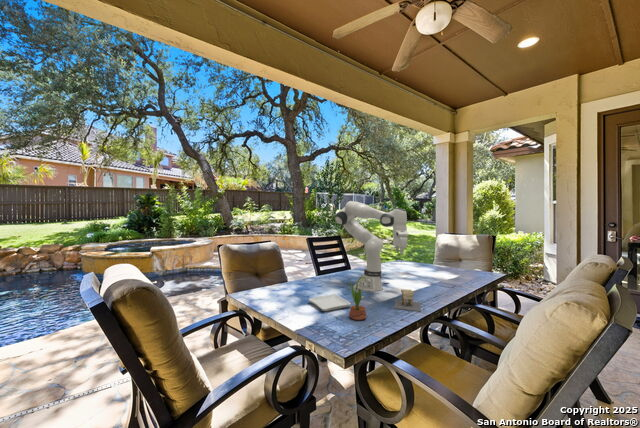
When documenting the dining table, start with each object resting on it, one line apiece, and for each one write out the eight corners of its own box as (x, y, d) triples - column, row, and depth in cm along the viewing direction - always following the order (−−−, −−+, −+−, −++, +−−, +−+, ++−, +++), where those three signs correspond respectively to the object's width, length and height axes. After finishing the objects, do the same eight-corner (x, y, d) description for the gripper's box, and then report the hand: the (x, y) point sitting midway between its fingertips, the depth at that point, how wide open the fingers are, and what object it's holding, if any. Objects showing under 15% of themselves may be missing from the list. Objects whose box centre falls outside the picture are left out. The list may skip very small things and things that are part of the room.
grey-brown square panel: (393, 308, 178) (394, 307, 178) (395, 300, 193) (395, 299, 193) (420, 312, 173) (420, 311, 173) (420, 303, 188) (420, 302, 188)
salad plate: (323, 314, 169) (323, 308, 169) (307, 303, 187) (307, 298, 187) (352, 308, 179) (352, 303, 179) (334, 298, 197) (334, 293, 197)
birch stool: (400, 302, 187) (400, 289, 187) (410, 302, 188) (410, 289, 187) (403, 306, 181) (403, 292, 181) (413, 306, 181) (413, 292, 181)
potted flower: (371, 316, 166) (371, 273, 165) (368, 322, 156) (369, 278, 155) (351, 313, 170) (351, 272, 169) (347, 319, 160) (347, 275, 159)
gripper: (391, 231, 200) (390, 250, 200) (399, 234, 179) (398, 255, 180) (399, 231, 200) (399, 250, 200) (409, 234, 179) (408, 255, 180)
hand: (399, 253), depth 190 cm, fingers open, 8 cm apart
